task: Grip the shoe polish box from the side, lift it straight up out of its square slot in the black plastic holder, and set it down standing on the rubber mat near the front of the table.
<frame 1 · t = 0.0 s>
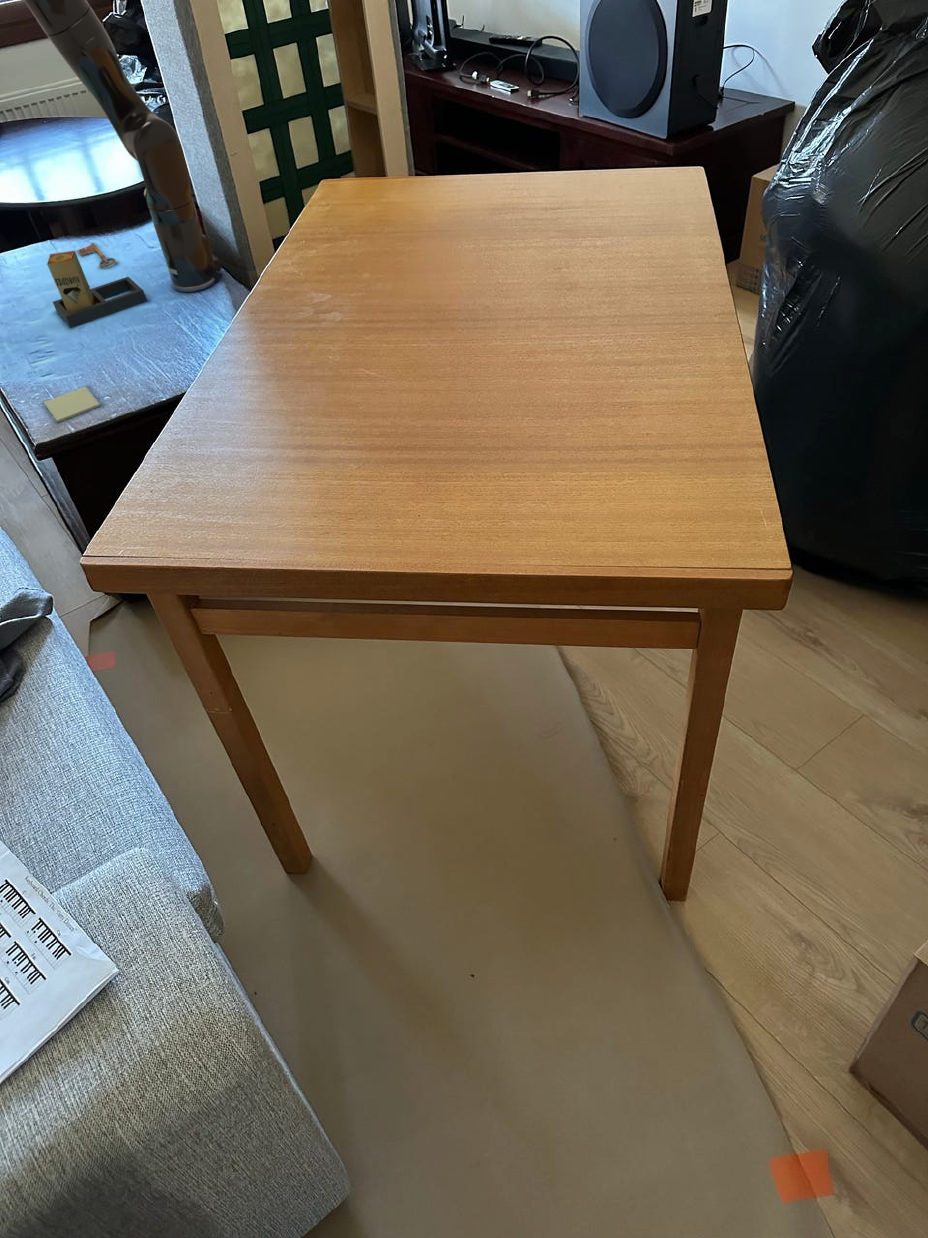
mat: (72, 405, 154), on the table
key: (97, 257, 199), on the table
holder: (102, 306, 181), on the table
shoe polish box: (84, 313, 180), resting in holder
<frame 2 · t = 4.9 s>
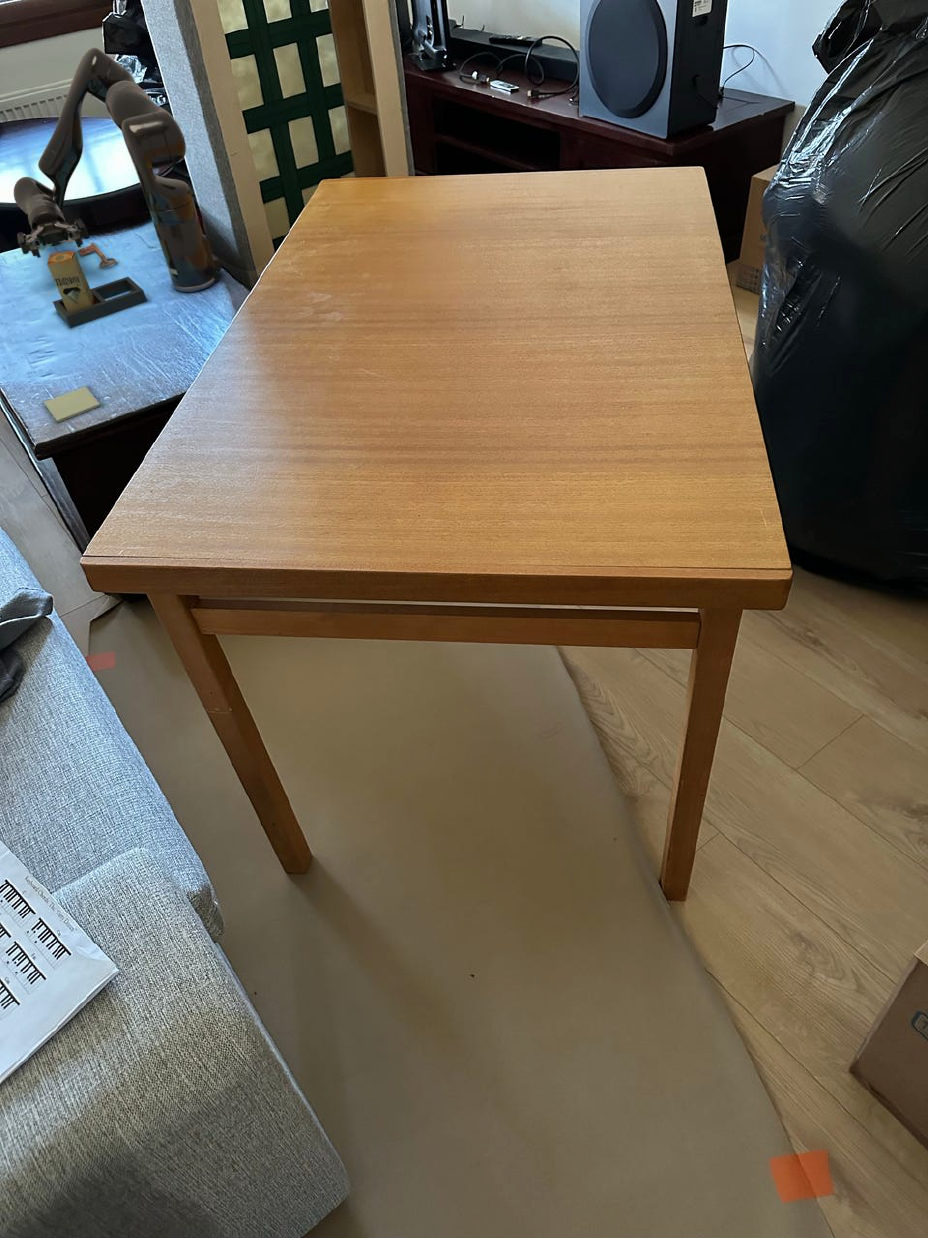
hand: (57, 247, 179), 10 cm above the table, tool horizontal, fingers open, 8 cm apart
nothing on the table moved.
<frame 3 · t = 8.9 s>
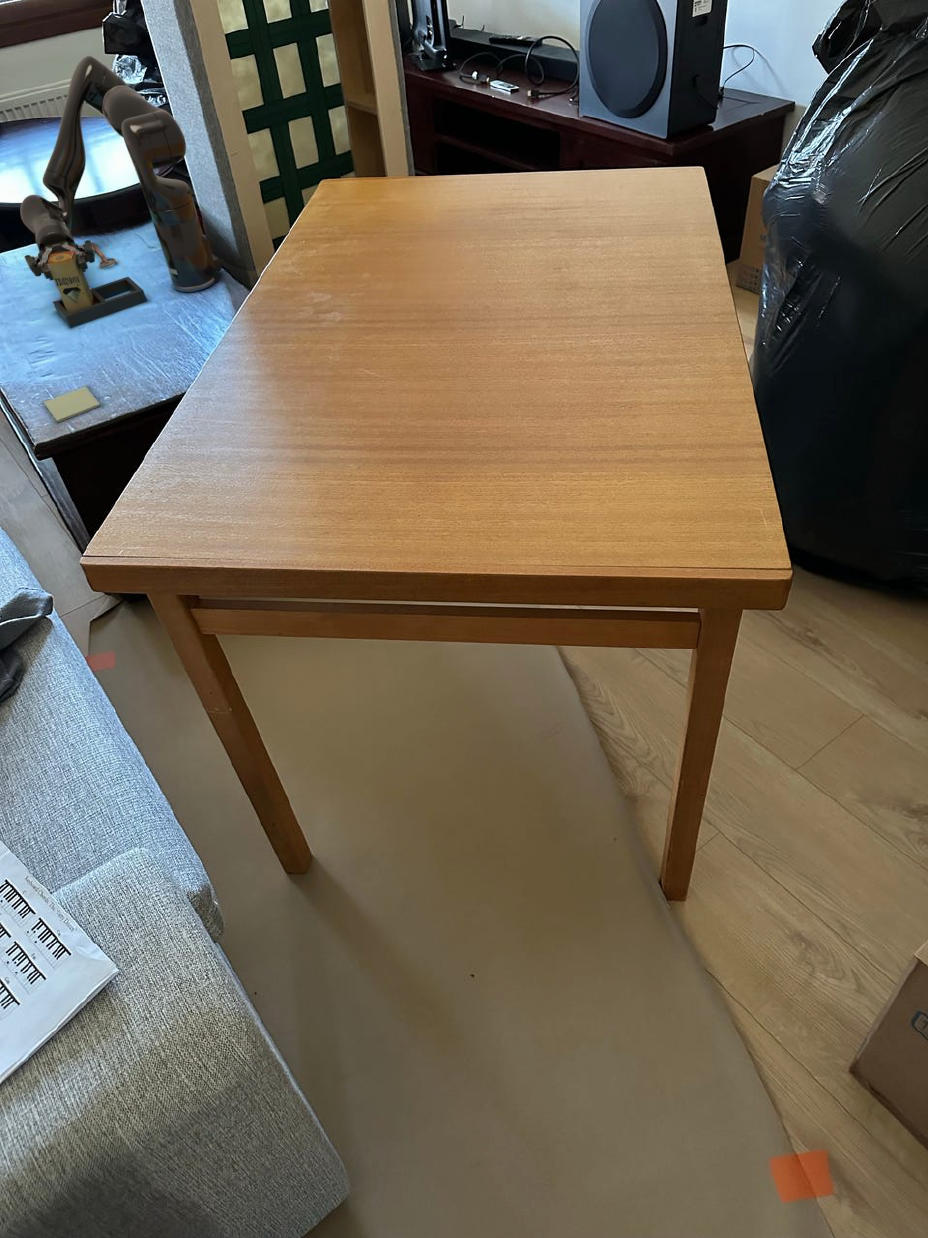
hand: (66, 271, 171), 10 cm above the table, tool horizontal, fingers closed on shoe polish box, 6 cm apart
shoe polish box: (84, 313, 180), resting in holder, touching gripper
everything else where it was.
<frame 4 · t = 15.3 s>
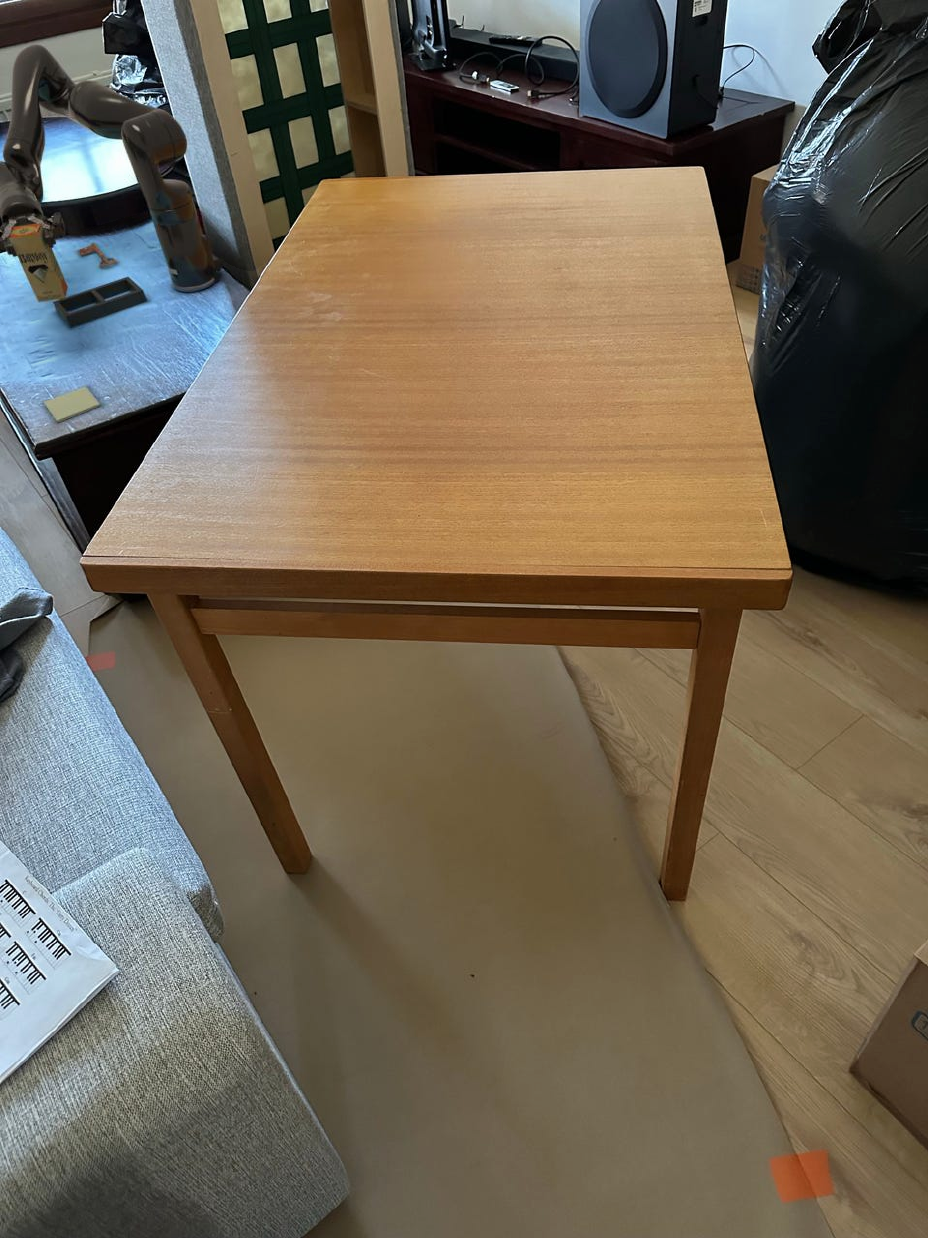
hand: (31, 246, 151), 22 cm above the table, tool horizontal, fingers closed on shoe polish box, 6 cm apart
shoe polish box: (53, 295, 160), point 12 cm above the table, touching gripper
everything else where it was.
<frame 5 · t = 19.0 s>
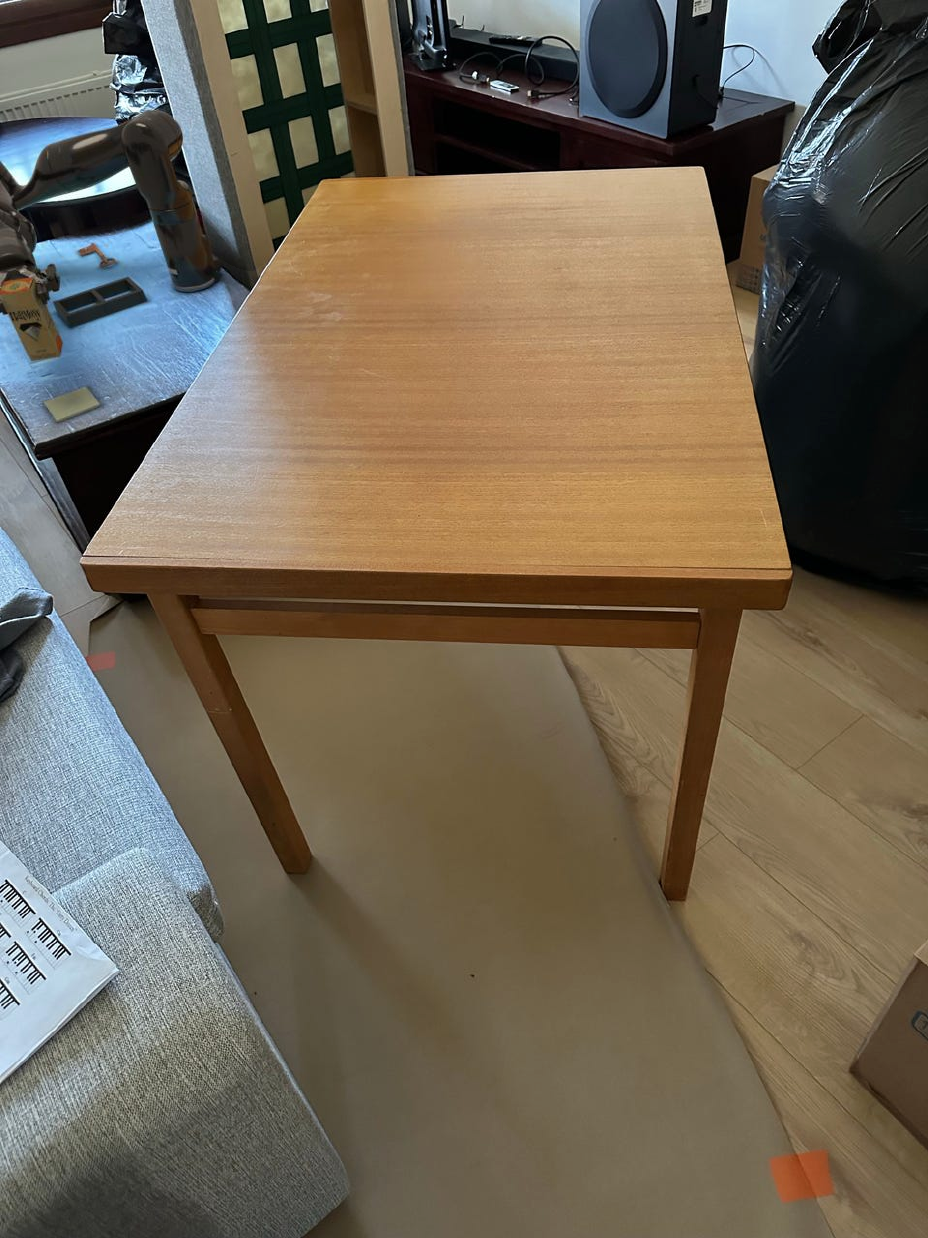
hand: (22, 303, 139), 20 cm above the table, tool horizontal, fingers closed on shoe polish box, 6 cm apart
shoe polish box: (47, 352, 148), point 10 cm above the table, touching gripper
everything else where it was.
when the fingers open (10 cm above the table, at t = 22.2 s): shoe polish box stays where it is, resting on mat.
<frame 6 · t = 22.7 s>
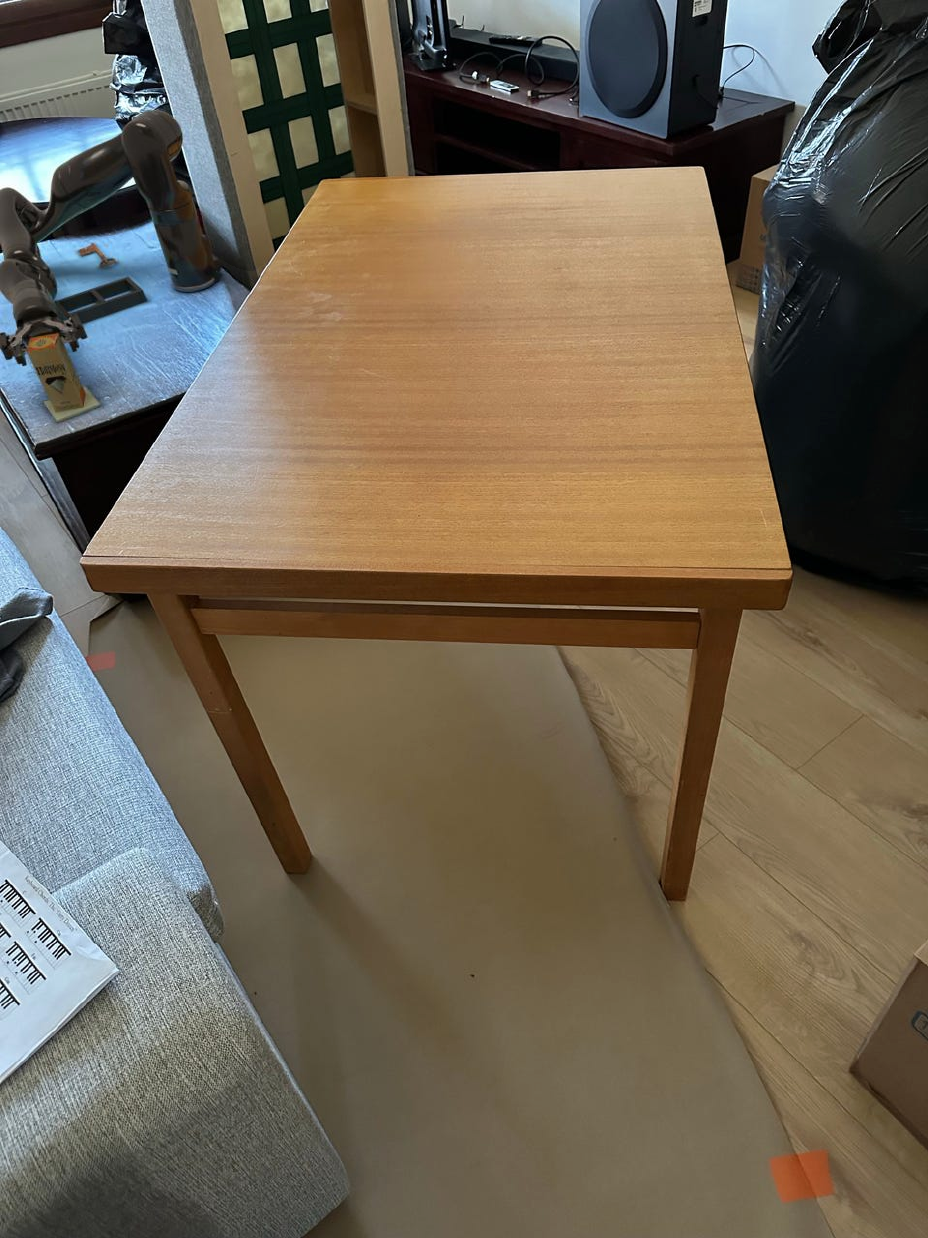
hand: (47, 353, 145), 11 cm above the table, tool horizontal, fingers open, 8 cm apart
shoe polish box: (71, 403, 154), resting on mat
everything else where it was.
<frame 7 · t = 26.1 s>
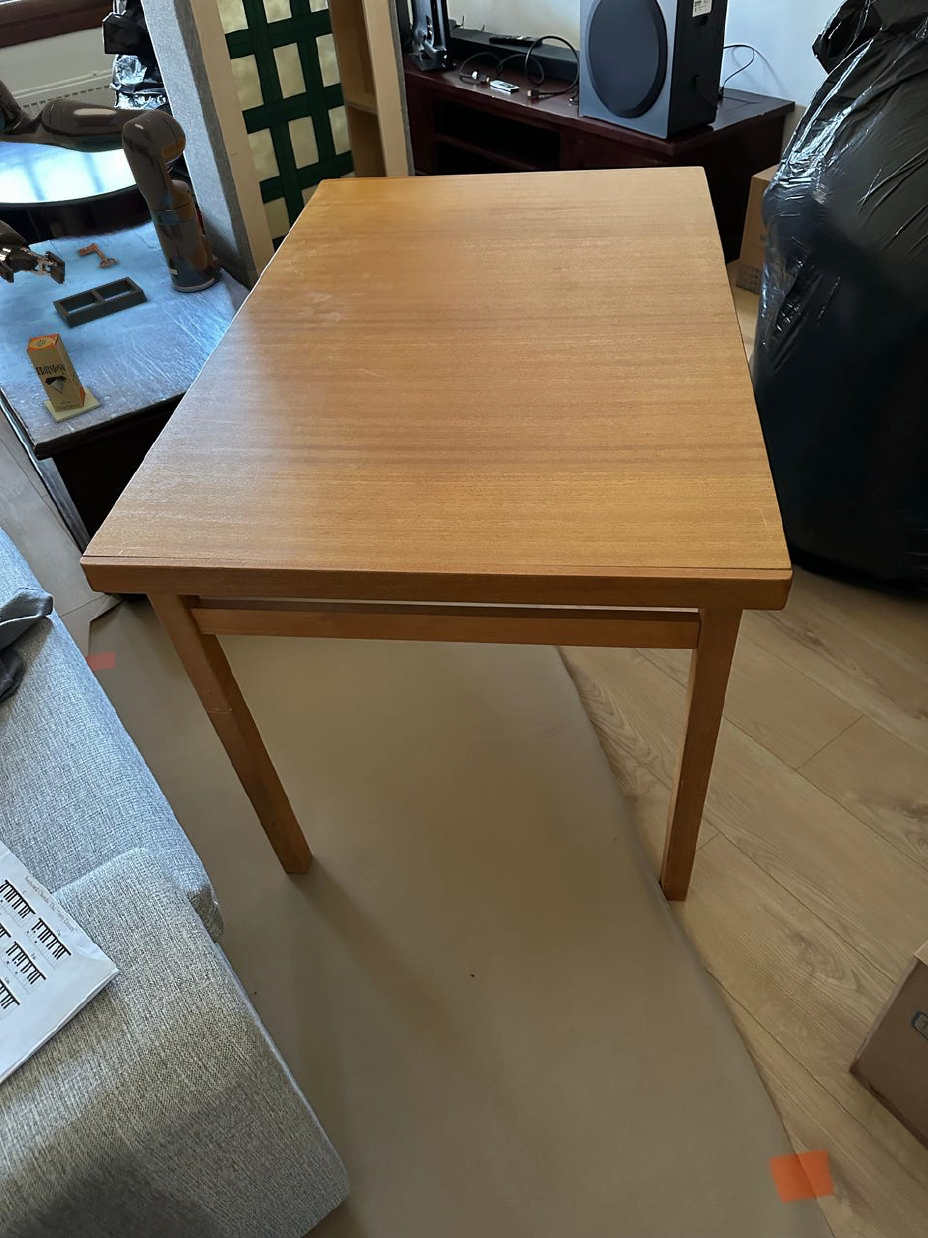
hand: (37, 277, 149), 18 cm above the table, tool horizontal, fingers open, 8 cm apart
nothing on the table moved.
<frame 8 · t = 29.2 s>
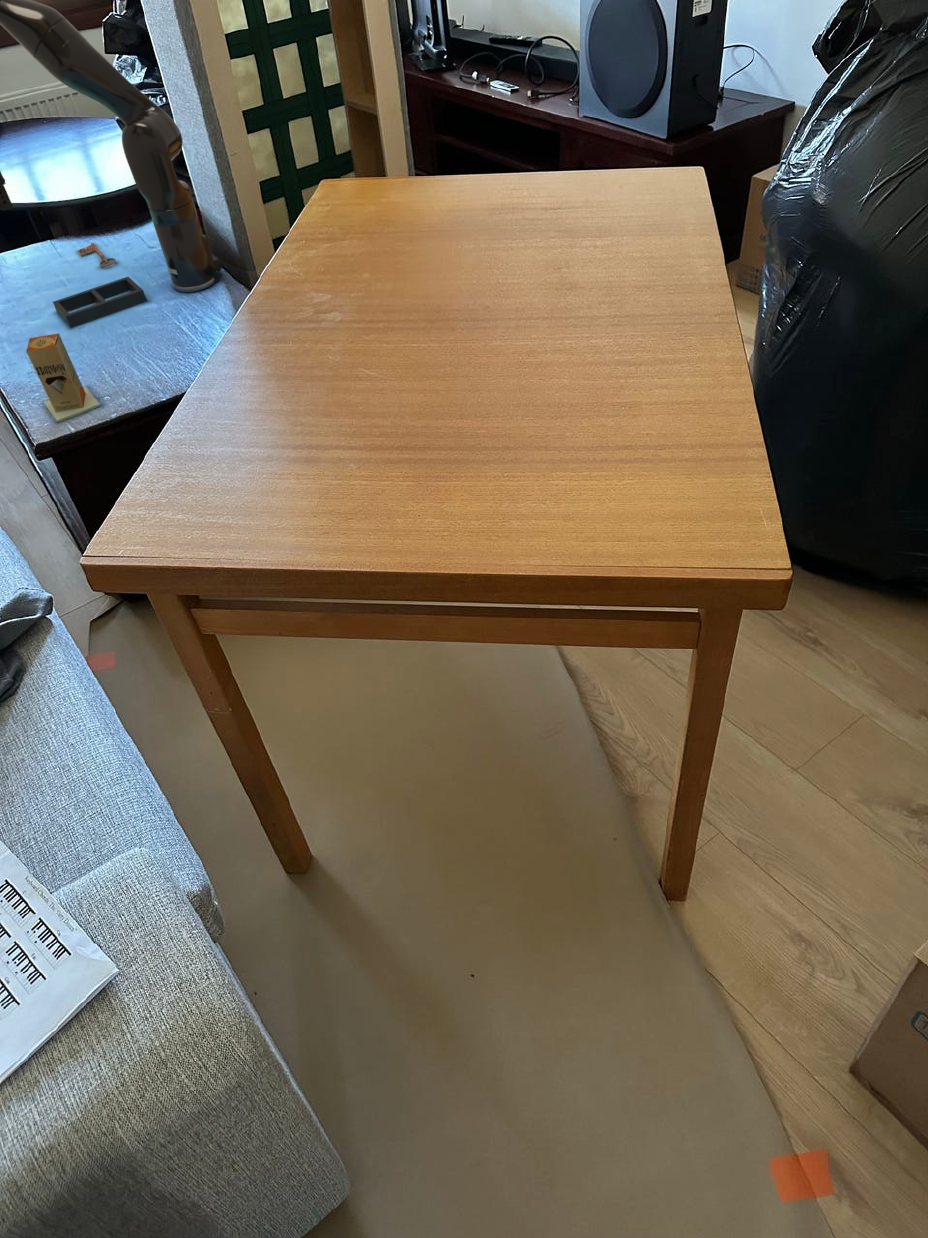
hand: (0, 202, 150), 28 cm above the table, tool pointing down, fingers open, 8 cm apart
nothing on the table moved.
at the end: shoe polish box inside the target area on the mat (0.1 cm from its centre), point 0.3 cm above the mat's base; shoe polish box tilted 0°; the gripper is holding nothing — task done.
